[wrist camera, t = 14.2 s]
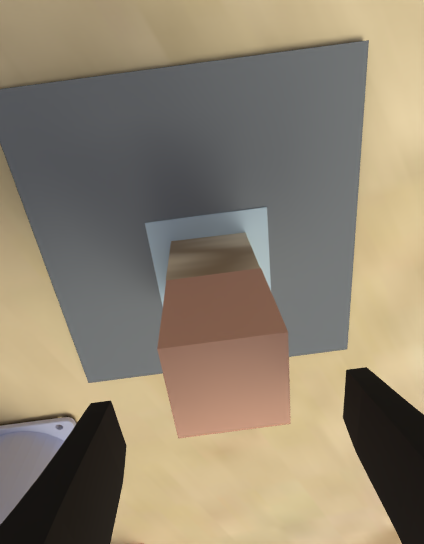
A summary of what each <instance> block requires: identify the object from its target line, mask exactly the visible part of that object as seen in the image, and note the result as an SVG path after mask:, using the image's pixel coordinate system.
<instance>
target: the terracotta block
mask: <svg viewBox="0 0 424 544" xmlns="http://www.w3.org/2000/svg"><path fill="white" fill-rule="evenodd" d="M157 350H158V354H159V359H160V363H161V367H162V371H163V376H164V380H165V384H166V388H167V392H168V397H169V401H170V405H171V409H172V413H173V418H174V422H175V426H176V430H177V435H178V438H185V437H192V436H200V435H208V434H216V433H223V432H231V431H239V430H246V429H254V428H262V427H269V426H277V425H285V424H290V386H289V346H288V330H287V328H286V326H285V323H284V321H283V319H282V316H281V314H280V312H279V309H278V307H277V304H276V302H275V300H274V297H273V295H272V293H271V290H270V288H269V286H268V283H267V281H266V278H265V276H264V274H263V271H262V269H261V268H257V269H250V270H242V271H235V272H227V273H219V274H212V275H204V276H196V277H189V278H181V279H174V280H166V287H165V294H164V302H163V310H162V317H161V325H160V332H159V340H158V347H157Z"/></svg>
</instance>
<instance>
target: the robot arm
mask: <svg viewBox="0 0 424 544" xmlns="http://www.w3.org/2000/svg"><path fill="white" fill-rule="evenodd" d="M343 419H344V422H345V424H346V427H347V430H348V433H349V435H350V438H351V440H352V443H353V446H354V448H355V451H356V453H357V455H358V457H359V459H360V461H361V463H362V465H363V467H364V469H365V471H366V473H367V475H368V477H369V479H370V481H371V483H372V485H373V487H374V489H375V491H376V492H377V494H378V496H379V498H380V500H381V502H382V504H383V506H384V508H385V510H386V512H387V514H388V516H389V518H390V520H391V522H392V524H393V526H394V528H395V530H396V532H397V534H398V536H399V538H400V540H401V542H402V544H424V415H423V414H422V413H421V412H420V411H418V410H417V409H416V408H415V407H413V406H412V405H411V404H410V403H408V402H407V401H406V400H405V399H404V398H402V397H401V396H400V395H399V394H398V393H396V392H395V391H394V390H393V389H392V388H390V387H389V386H388V385H387V384H386V383H385V382H383V381H382V380H381V379H380V378H379V377H377V376H376V375H375V374H374V373H373V372H372V371H370V370H369V369H368V368H367V367H365V368H358V369H350V370H346V383H345V397H344V411H343ZM125 456H126V443H125V440H124V437H123V435H122V432H121V429H120V426H119V423H118V420H117V417H116V414H115V411H114V408H113V405H112V402H111V401H105V402H97V403H91V404H90V405H89V406H88V408H87V409H86V411H85V412H84V414H83V415H82V417H81V418H80V420H79V421H78V422H77V424H76V422H75V420H74V419H72V418H70V417H63V418H55V419H47V420H40V421H32V422H24V423H17V424H9V425H1V426H0V544H110V542H111V537H112V532H113V527H114V523H115V518H116V513H117V508H118V504H119V499H120V494H121V489H122V484H123V476H124V467H125Z"/></svg>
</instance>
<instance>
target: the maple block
mask: <svg viewBox="0 0 424 544" xmlns="http://www.w3.org/2000/svg"><path fill="white" fill-rule="evenodd" d="M257 268H260V266H259V264H258V261H257V259H256V257H255V254H254V252H253V249H252V247H251V245H250V242H249V240H248V238H247V235H246V233H245V232H244V233H236V234H228V235H219V236H211V237H203V238H194V239H186V240H177V241H171V245H170V253H169V260H168V267H167V275H166V280H174V279H181V278H189V277H196V276H204V275H212V274H219V273H227V272H235V271H242V270H250V269H257Z"/></svg>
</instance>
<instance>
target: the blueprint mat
mask: <svg viewBox="0 0 424 544" xmlns="http://www.w3.org/2000/svg"><path fill="white" fill-rule="evenodd" d="M368 43H369V40H368V41H360V42H352V43H345V44H337V45H330V46H322V47H315V48H307V49H300V50H292V51H285V52H277V53H269V54H262V55H254V56H247V57H239V58H232V59H224V60H217V61H209V62H201V63H194V64H186V65H179V66H171V67H164V68H156V69H149V70H141V71H133V72H126V73H118V74H111V75H103V76H96V77H88V78H81V79H73V80H65V81H58V82H50V83H43V84H35V85H28V86H20V87H13V88H5V89H0V144H1V146H2V149H3V152H4V154H5V157H6V160H7V163H8V165H9V168H10V171H11V173H12V176H13V179H14V182H15V184H16V187H17V190H18V192H19V195H20V198H21V201H22V203H23V206H24V209H25V212H26V214H27V217H28V220H29V222H30V225H31V228H32V231H33V233H34V236H35V239H36V241H37V244H38V247H39V250H40V252H41V255H42V258H43V260H44V263H45V266H46V269H47V271H48V274H49V277H50V279H51V282H52V285H53V288H54V290H55V293H56V296H57V298H58V301H59V304H60V307H61V309H62V312H63V315H64V317H65V320H66V323H67V326H68V328H69V331H70V334H71V336H72V339H73V342H74V345H75V347H76V350H77V353H78V355H79V358H80V361H81V364H82V366H83V369H84V372H85V374H86V377H87V380H88V383H92V382H100V381H108V380H115V379H123V378H131V377H138V376H146V375H154V374H161V373H163V371H162V367H161V363H160V359H159V354H158V350H157V347H158V340H159V332H160V325H161V317H162V310H163V302H164V294H165V287H166V275H167V267H168V260H169V253H170V245H171V241H177V240H186V239H194V238H203V237H211V236H219V235H228V234H236V233H244V232H245V233H246V235H247V238H248V240H249V242H250V245H251V247H252V249H253V252H254V254H255V257H256V259H257V261H258V264H259V266H260V268H261V269H262V271H263V274H264V276H265V278H266V281H267V283H268V286H269V288H270V290H271V293H272V295H273V297H274V300H275V302H276V304H277V307H278V309H279V312H280V314H281V316H282V319H283V321H284V323H285V326H286V328H287V330H288V346H289V357H291V356H299V355H307V354H314V353H322V352H330V351H337V350H345V349H347V345H348V330H349V316H350V302H351V287H352V273H353V259H354V244H355V230H356V216H357V201H358V187H359V172H360V158H361V144H362V129H363V115H364V101H365V86H366V72H367V58H368Z"/></svg>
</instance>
